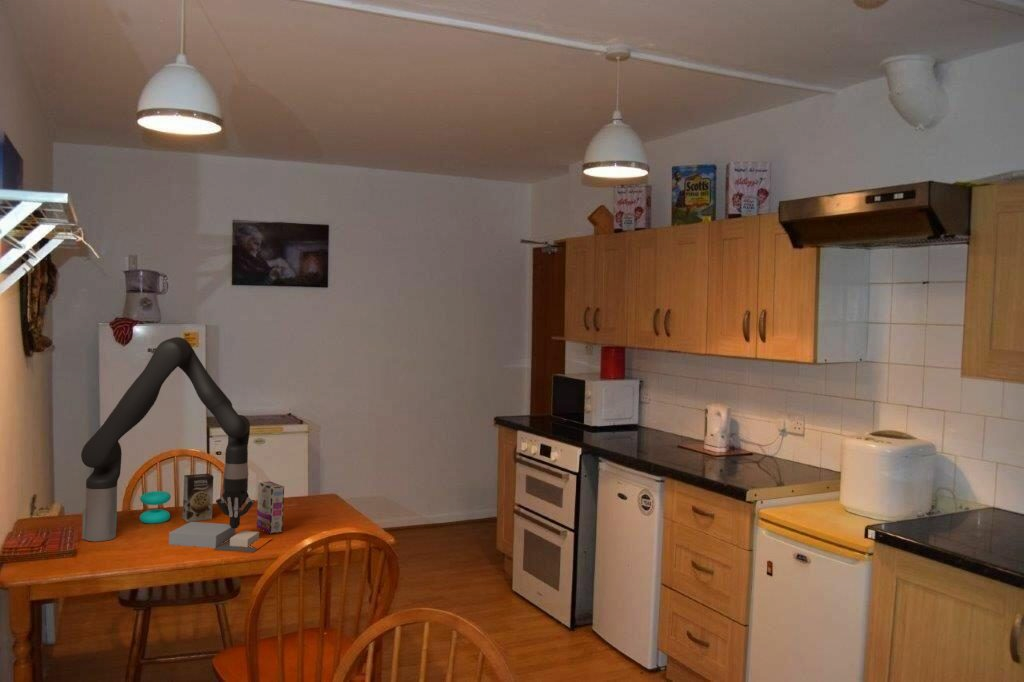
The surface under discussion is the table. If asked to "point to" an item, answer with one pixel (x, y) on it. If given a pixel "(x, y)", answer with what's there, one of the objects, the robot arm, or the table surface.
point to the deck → (201, 534)
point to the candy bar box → (270, 507)
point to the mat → (234, 548)
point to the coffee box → (197, 497)
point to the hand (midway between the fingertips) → (234, 527)
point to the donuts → (155, 514)
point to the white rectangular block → (244, 538)
